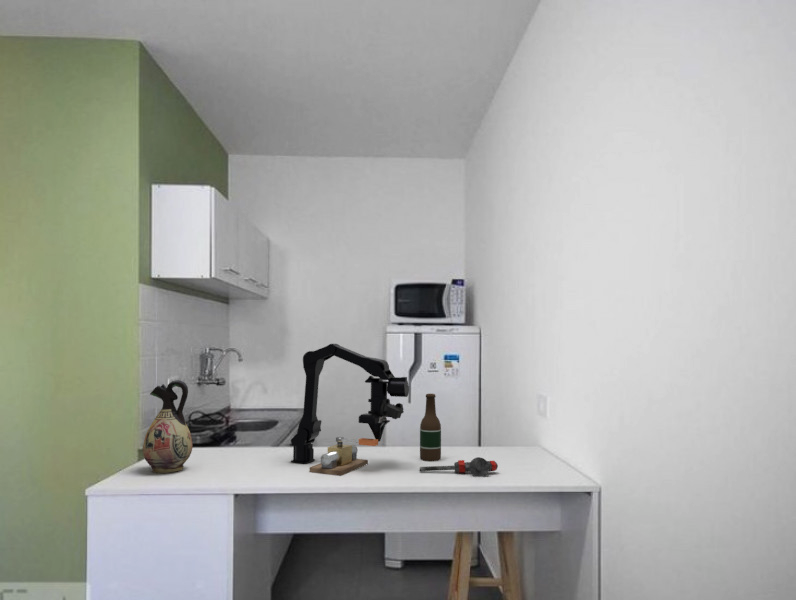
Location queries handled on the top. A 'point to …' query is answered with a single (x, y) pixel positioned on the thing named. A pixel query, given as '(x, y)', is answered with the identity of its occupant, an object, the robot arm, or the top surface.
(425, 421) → the beer bottle
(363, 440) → the lever
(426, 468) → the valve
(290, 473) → the top surface
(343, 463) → the valve base
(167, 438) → the ceramic jug
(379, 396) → the robot arm
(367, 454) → the top surface
